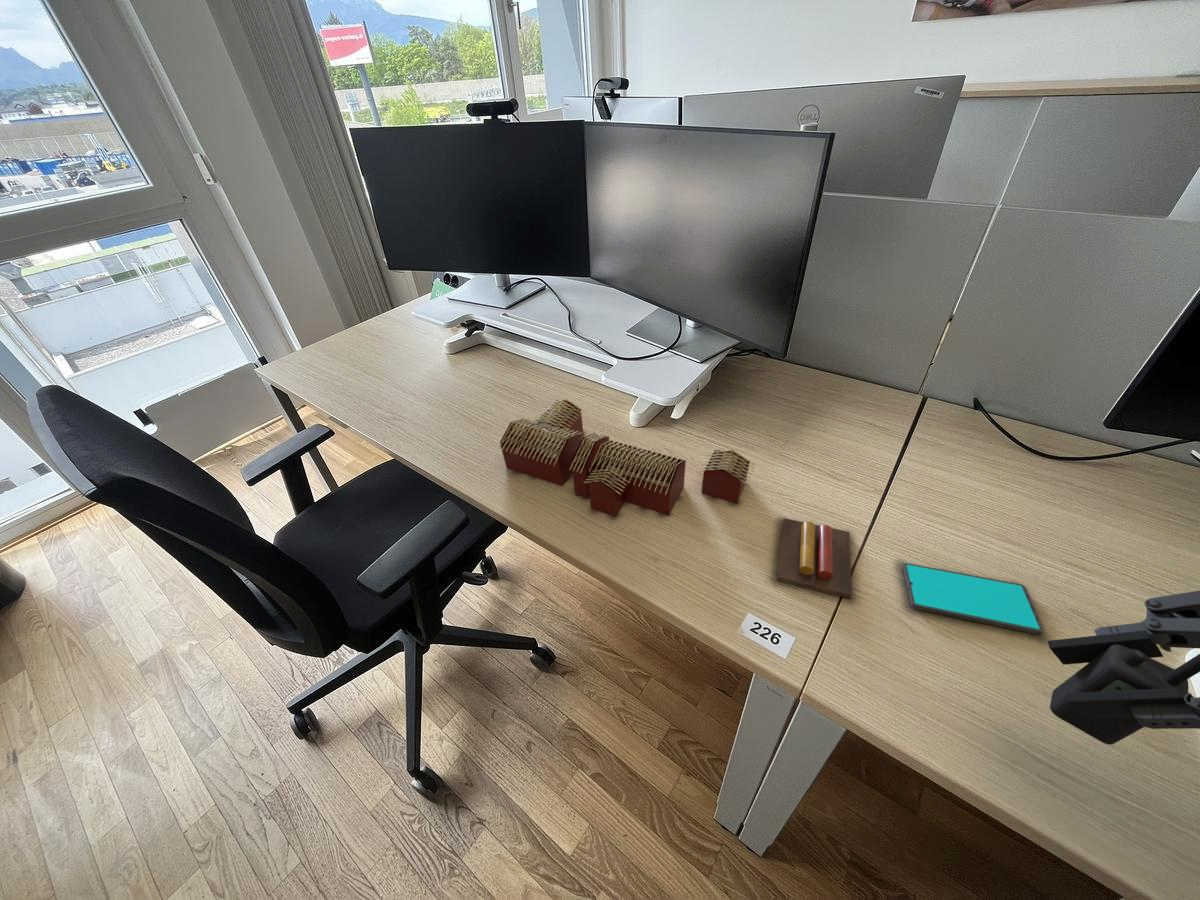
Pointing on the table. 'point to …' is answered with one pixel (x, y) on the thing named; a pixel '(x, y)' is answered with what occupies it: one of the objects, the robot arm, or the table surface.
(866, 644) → the table surface
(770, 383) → the table surface
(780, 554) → the rod rack
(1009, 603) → the smartphone
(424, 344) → the table surface
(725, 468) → the toy houses
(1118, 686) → the walkie-talkie
